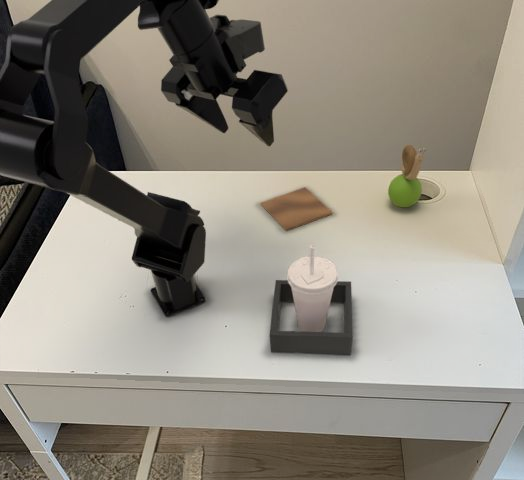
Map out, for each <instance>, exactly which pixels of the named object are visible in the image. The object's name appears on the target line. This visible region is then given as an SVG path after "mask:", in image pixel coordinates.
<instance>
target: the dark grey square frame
mask: <svg viewBox="0 0 524 480" xmlns="http://www.w3.org/2000/svg"><path fill="white" fill-rule="evenodd" d="M352 298H353V295H352V281H348V280H347V281H345V280H343V281H342V280H338V281H337V283H336V285H335V286H334V288H333V293H332V297H331V301H330V304H343V327H344V329H343V330H344V331H343V332H333V331H332V332H331V331H330V332H329V331H322V332H303V331H301V330H280V321H281V311H282V302H283V303H285V302H286V303H294V299H293V293H292V288H291V286H290V284H289V282H288V279H275V284H274V291H273V300H272V301H273V302H272V310H271V319H270V327H269V346H270V347H269V348H270V353H275V354H276V353H277V354H279V353H280V354H307V355H308V354H310V355H334V356H335V355H336V356H339V355H340V356H351V354H352V348H353V347H352V345H353V336H354V335H353V301H352Z"/></svg>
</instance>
